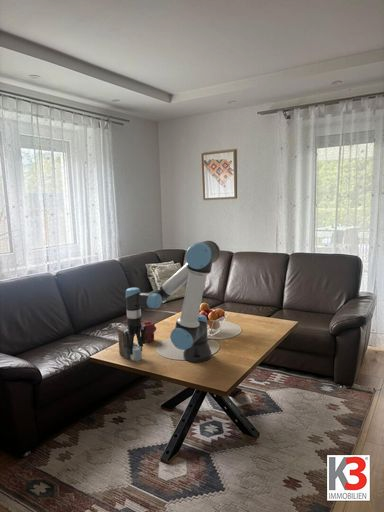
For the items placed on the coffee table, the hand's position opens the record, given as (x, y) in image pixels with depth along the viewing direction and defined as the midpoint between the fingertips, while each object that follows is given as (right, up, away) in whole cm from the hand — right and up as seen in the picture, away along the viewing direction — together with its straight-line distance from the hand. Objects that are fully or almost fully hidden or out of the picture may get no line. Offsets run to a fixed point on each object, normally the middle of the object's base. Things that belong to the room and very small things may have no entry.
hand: (136, 358), depth 199 cm
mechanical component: (+4, +3, +27) cm, 27 cm away
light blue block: (-1, 0, +2) cm, 2 cm away
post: (-5, 0, +6) cm, 8 cm away
